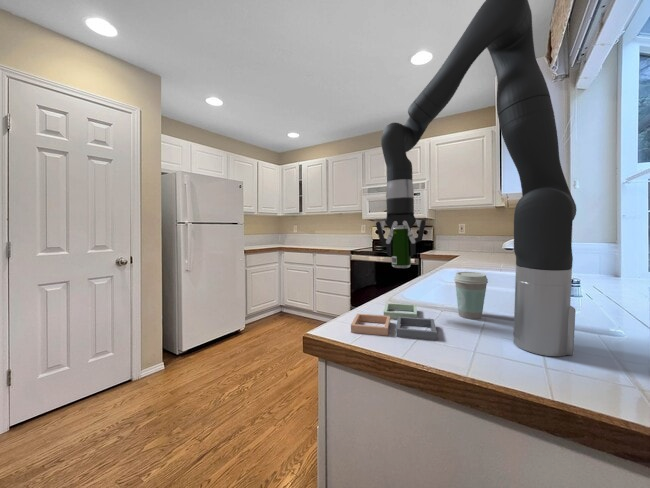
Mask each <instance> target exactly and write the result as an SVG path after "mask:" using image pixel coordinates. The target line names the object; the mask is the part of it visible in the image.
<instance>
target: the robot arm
mask: <svg viewBox="0 0 650 488" xmlns="http://www.w3.org/2000/svg"><path fill="white" fill-rule="evenodd" d="M532 15H533V13H532V10H531V6H530V3H529V0H484V2H483V3H482V4H481V6H480V7H479V9H478V10H477V12H475V15H474V16H473V18H472V20H470V23H469V24H468V25H467V27H466V28H465V30H464V32H463V33H462V35H461V36H460V38H459V40H458V41H457V43H455V46H454V47H453V49H452V50H451V52H450V53H449V55H448V56H447V58H446V59H445V61H444V62H443V64H442V65H441V67H440V68H439V69H438V71H437V72H436V73H435V75H434V76H433V77H432V79H431V80H429V82H428V83H427V85H426V86H425V87H424V88H423V90H422V91H421V92H420V93H419V94H418V96H417V97H416V98H415V99H414V100H413V102H412V103H410V106H409V107H408V109H407V114H408V116H409V117H408V119H407V121H406V122H405V123H404V124H402V123H399V122H392V123H389V124H387V125H386V126H385V128H384V129H383V132H382V135H381V139H380V140H381V142H380V144H381V149H382V154H383V158H384V162H385V165H386V189H385V198H386V200H385V202H386V218H385V220H382V221H377V222H376V223H375V226H376V230H377V235H378V238H379V242H380V243H384V244H385V245H386V255H387V256H388V258H392V253H391V239H392V237H393V228H394V227H396V225H406V227H407V228H408V231H409V232H408V236H409V239H410V242H411V244H410V251H411V258H414V255H416V252H417V251H416V249H417V248H416V247H417V246H416V244H417V243H419V242H421V241H423V236H424V231H425V227H426V220H425V219H416V217H415V203H414V202H415V201H414V198H415V196H414V195H415V193H414V191H415V190H414V182H413V164H412V161H411V160H410V159H409V158H408V156H407V152H409V151H411V150H412V149H413V148H414V147H415V146H416V145H418V142H419V141H420V139H421V138H422V137H423V135H424V133H425V132H426V130H427V128H428V127H429V125H430V124H431V123H432V122H433V121H434V120H435V118H436V117H437V116H438V115H439V114H440V113H441V112H442V111H443V109H445V107H447V105H448V104H449V102H450V101H451V100H452V98H453V97H454V95H455V94H456V92H457V90H458V89H459V87H460V84H461V83H462V81H463V79H464V77H465V76H466V74H467V72H468V71H469V69H470V68H471V66H472V65H473V64H474V63H475V61H476V60H477V59H478V57H480V55H481V54H482V53H483V52H484V51H485V50H486V49H487V50H488V52H489V55H490V57H491V58H490V59H491V60H492V63H493V66H494V67H493V68H494V69H495V74H496V78H497V79H496V82H497V88H496V113H497V118H498V125H499V128H500V132H501V136H502V139H503V142H504V144H505V146H506V148H507V151H508V153H509V156H510V158H511V160H512V162H513V164H514V166H515V168H516V170H517V173H518V177H519V181H520V186H521V187H520V188H521V193H522V194H521V195H522V196H521V197H520V199H519V200H518V201H517V203H516V205H515V208H514V214H513V215H514V216H513V251H514V255H515V276H514V277H515V279H514V280H515V281H514V282H515V284H514V285H515V286H514V311H513V313H514V315H513V344H515V346H516V347H518V348H520V349H522V350H524V351H527V352H530V353H533V354H536V355H541V356H546V357H563V356H567V355H568V356H569V355H570V356H574V350H575V347H574V346H575V331H576V330H575V326H576V324H575V323H576V307H574V306H572V305H571V300H572V299H571V296H572V278H573V276H572V274H573V261H574V259H573V258H574V256H573V249H572V248H573V247H572V246H573V245H572V243H573V241H572V238H573V221H574V220H575V218H576V215H577V204H576V202H575V199H574V197H573V195H572V193H571V190H570V188H569V186H568V183H567V180H566V177H565V174H564V171H563V168H562V167H563V166H562V164H561V159H560V157H561V156H560V151H559V150H560V148H559V147H560V146H559V139H558V131H557V129H558V128H557V123H556V118H555V117H556V116H555V111H554V107H553V102H552V99H551V95H550V91H549V88H548V85H547V81H546V79H545V77H544V75H543V72H542V70H541V68H540V65H539V64H538V63H539V62H538V61H537V57H536V52H535V44H534V33H533V16H532ZM415 224H416V225H417V228H419V229H418V233H417V234H418V235H417V237H414V235H413V232H412V230H411V229H412V227H414V225H415ZM385 225H386V226H387V227H388V228H389V233H388V236H387V238H386V237H385V235H384V231H383V229H384V228H385Z"/></svg>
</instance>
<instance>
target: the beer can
mask: <svg viewBox="0 0 650 488" xmlns="http://www.w3.org/2000/svg"><path fill="white" fill-rule="evenodd" d="M408 232H409V231H408V228H407V227H406V225H396V227H394V228H393V237H392V239H391V253H392V257H391V266H392V267H393V268H395V269H408V268H411V265H412V257H411V251H410V244H411V241H410V239H409V236H408Z"/></svg>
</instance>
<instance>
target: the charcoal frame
mask: <svg viewBox="0 0 650 488" xmlns="http://www.w3.org/2000/svg"><path fill="white" fill-rule="evenodd" d="M396 320H397V321H396V328H395V329H396V331H395V333H396V336H395V337H399V338H408V339H421V340H430V341H432V340H433V341H438V331H437V327H436V324H435V320H434V319H433V318H424V317H423V318H422V317H417V318H411V317H398V319H396ZM402 325H404V326H415V327H419V326H420V327H429V328H430V330H426V329H416V328H415V329H414V328H413V329H412V328H405V327H401V326H402Z"/></svg>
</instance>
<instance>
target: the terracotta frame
mask: <svg viewBox="0 0 650 488" xmlns="http://www.w3.org/2000/svg"><path fill="white" fill-rule="evenodd" d="M360 322H364V323H365V322H368V323H381V324H384V326H381V325H368V324H367V325H366V324H365V325H364V324H360ZM390 326H391V319H390V316H384V314H383V315H381V314H380V315H379V314H366V313H356V315H355V317H354V318H353V321H352V322H351V324H350V333H353V334H354V333H355V334H356V333H357V334H365V335H368V334H369V335H378V336H389V331H390Z"/></svg>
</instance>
